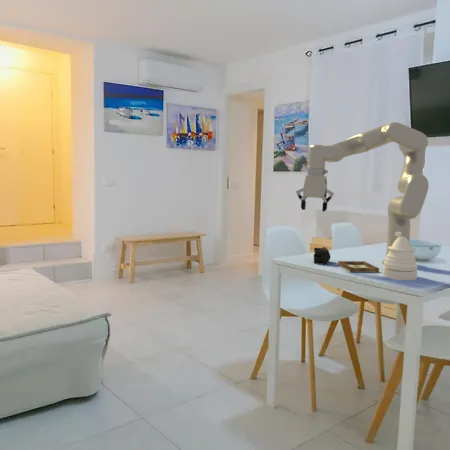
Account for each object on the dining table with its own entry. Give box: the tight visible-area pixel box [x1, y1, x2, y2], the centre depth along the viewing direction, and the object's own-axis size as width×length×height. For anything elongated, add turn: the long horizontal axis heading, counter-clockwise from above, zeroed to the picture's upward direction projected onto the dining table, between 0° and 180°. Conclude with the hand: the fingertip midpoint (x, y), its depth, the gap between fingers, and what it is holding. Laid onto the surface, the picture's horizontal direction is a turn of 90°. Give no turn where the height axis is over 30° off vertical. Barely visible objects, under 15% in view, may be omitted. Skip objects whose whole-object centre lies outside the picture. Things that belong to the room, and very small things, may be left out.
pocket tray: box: [337, 260, 380, 273], centre depth 195 cm, size 12×15×2 cm
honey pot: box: [382, 232, 418, 281], centre depth 180 cm, size 13×13×18 cm
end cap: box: [313, 246, 331, 265], centre depth 207 cm, size 10×7×7 cm
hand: (313, 210), depth 203 cm, fingers open, 9 cm apart
